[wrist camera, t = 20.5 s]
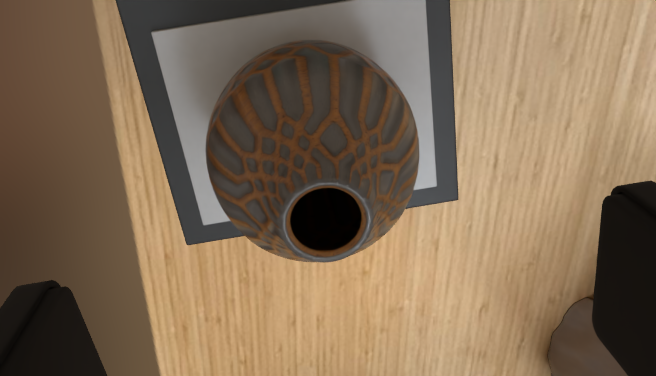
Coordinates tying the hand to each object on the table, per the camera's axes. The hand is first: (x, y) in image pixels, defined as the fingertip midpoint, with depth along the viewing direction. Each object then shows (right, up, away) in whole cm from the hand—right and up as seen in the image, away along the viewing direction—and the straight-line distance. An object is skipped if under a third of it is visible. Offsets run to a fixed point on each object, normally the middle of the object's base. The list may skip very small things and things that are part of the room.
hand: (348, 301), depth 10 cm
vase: (-1, +5, +12) cm, 13 cm away
